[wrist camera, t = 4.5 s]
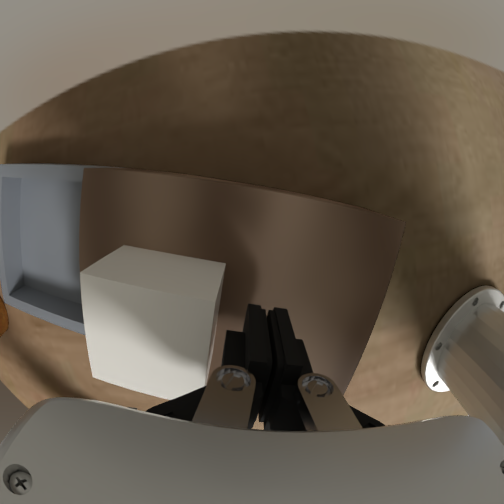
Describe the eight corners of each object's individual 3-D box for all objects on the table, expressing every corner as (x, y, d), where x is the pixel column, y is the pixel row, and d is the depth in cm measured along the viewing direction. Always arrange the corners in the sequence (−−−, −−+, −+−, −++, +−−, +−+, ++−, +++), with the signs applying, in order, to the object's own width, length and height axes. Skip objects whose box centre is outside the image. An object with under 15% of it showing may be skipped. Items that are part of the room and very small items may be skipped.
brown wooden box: (361, 207, 18) (406, 222, 12) (319, 355, 21) (337, 406, 15) (130, 168, 17) (83, 167, 11) (123, 323, 20) (90, 366, 14)
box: (130, 168, 17) (110, 167, 14) (123, 323, 20) (108, 342, 17) (20, 163, 16) (-3, 164, 13) (22, 290, 19) (4, 302, 17)
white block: (225, 263, 12) (215, 301, 9) (212, 352, 14) (202, 406, 10) (124, 245, 12) (79, 272, 8) (124, 332, 14) (92, 377, 10)
